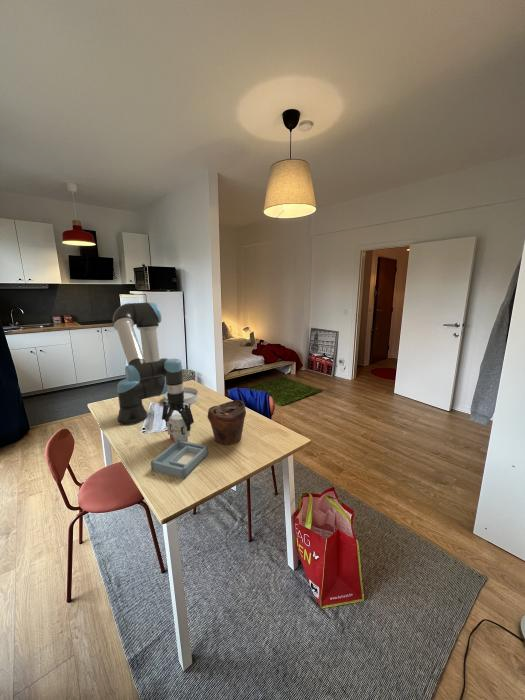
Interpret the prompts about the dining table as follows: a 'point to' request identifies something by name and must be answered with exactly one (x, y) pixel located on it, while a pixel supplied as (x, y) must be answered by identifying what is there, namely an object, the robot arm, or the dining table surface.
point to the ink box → (177, 428)
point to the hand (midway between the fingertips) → (178, 434)
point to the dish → (187, 395)
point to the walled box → (179, 459)
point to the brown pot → (227, 421)
